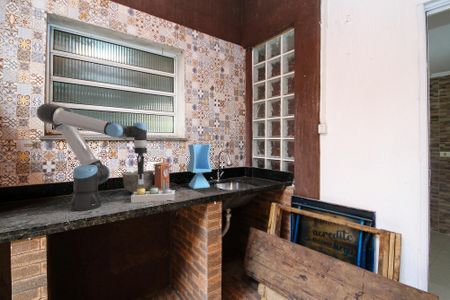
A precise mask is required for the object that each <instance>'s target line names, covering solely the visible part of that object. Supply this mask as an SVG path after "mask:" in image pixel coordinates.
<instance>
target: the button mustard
mask: <svg viewBox="0 0 450 300" xmlns="http://www.w3.org/2000/svg"><path fill="white" fill-rule="evenodd" d="M145 192H146V191H145V188H139V189H137V195H145Z"/></svg>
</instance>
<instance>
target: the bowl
mask: <svg viewBox="0 0 450 300" xmlns="http://www.w3.org/2000/svg"><path fill="white" fill-rule="evenodd" d="M137 173H138V170H134V172H132V171H123V172H121V175H122V180H123V187H124V189H125V190H126V191H127V192H130V193H132V194H133V193H134V192H137V189H139V188H145V192H147V190H150V188H152V185H153V183H154V182H153V179H154V175H155V171H152V170H145V171H144V172H143V173H144V174H143V184H138V174H137Z"/></svg>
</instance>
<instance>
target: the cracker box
mask: <svg viewBox="0 0 450 300" xmlns="http://www.w3.org/2000/svg"><path fill="white" fill-rule="evenodd" d="M154 188H158V191H163V190H164V189H170V162H157V163H154Z"/></svg>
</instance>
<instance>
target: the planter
mask: <svg viewBox="0 0 450 300" xmlns="http://www.w3.org/2000/svg"><path fill="white" fill-rule="evenodd" d="M187 147H188V151H189V161H188V165H187V167H186V171H187V172H190V173H193V174H194V173H195V174H194V176H193V178H192V179H191V181H189V183H188V187H190V188H191V189H194V190H197V189H204V188H205V189H207V188H211V186H210V184H209V181H208V180H207V179H206V178H205V176H204V175H203V173H211V172H212V166H211V164H210V151H211V147H212V144H187Z"/></svg>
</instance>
